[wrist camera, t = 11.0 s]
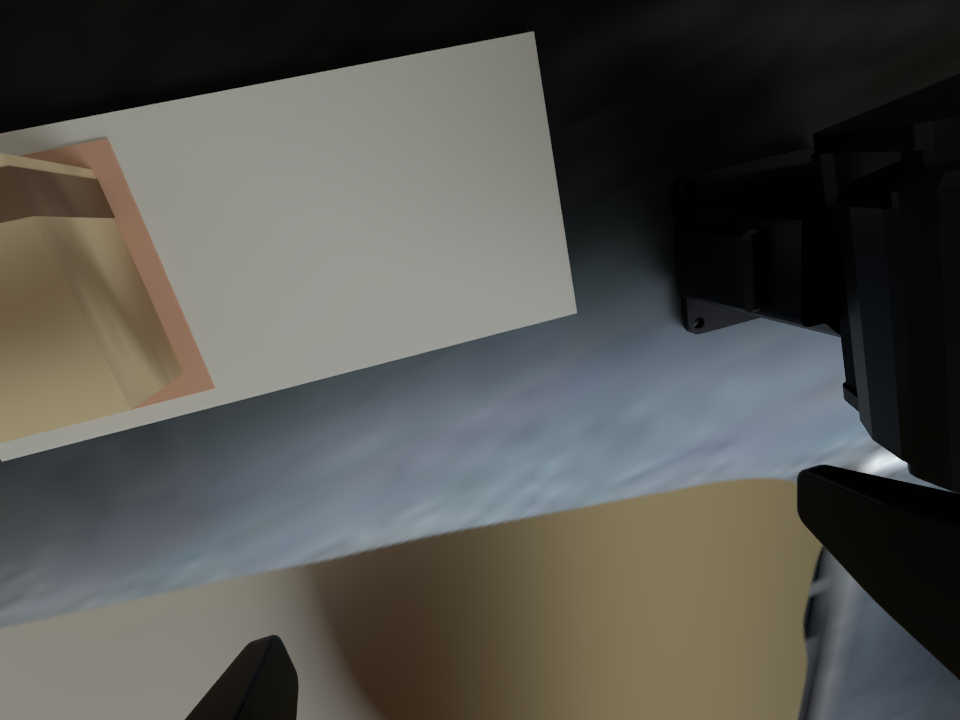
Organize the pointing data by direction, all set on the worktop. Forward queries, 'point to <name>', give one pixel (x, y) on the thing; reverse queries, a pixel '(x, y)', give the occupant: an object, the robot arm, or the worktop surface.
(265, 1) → the worktop surface
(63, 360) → the two-tone wooden box
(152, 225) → the grey mat
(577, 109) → the worktop surface
